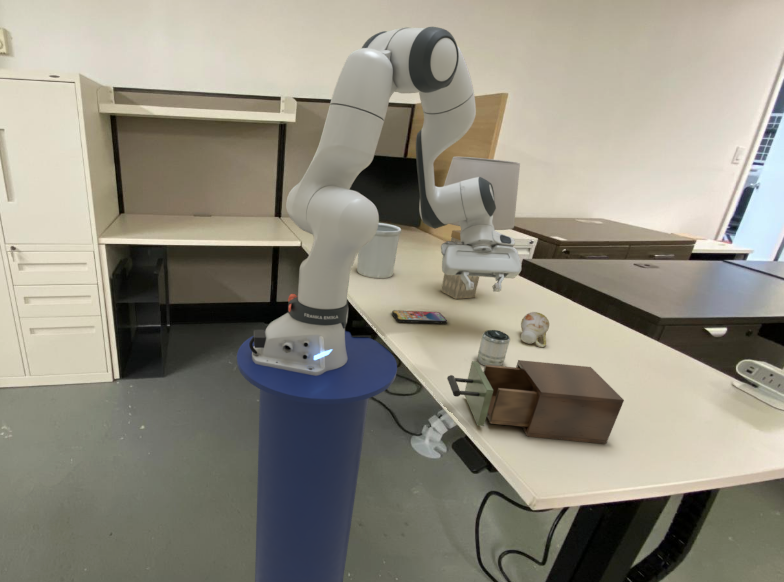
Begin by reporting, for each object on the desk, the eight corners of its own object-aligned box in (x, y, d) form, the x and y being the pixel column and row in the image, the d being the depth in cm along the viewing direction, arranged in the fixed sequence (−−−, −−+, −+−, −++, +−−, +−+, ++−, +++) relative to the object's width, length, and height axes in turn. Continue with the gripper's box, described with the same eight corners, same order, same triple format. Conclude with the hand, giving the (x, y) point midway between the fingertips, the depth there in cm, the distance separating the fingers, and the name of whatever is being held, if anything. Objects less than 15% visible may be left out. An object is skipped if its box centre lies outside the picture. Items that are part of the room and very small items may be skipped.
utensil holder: (387, 281, 168) (394, 233, 161) (349, 273, 174) (354, 226, 166) (399, 272, 180) (406, 226, 173) (363, 265, 186) (368, 220, 178)
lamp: (407, 284, 166) (428, 154, 148) (463, 281, 176) (489, 158, 158) (450, 310, 146) (481, 162, 127) (511, 304, 155) (548, 165, 137)
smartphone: (448, 321, 134) (398, 319, 132) (447, 324, 135) (397, 322, 132) (439, 311, 141) (391, 310, 139) (438, 314, 141) (391, 313, 139)
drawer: (451, 423, 87) (459, 387, 84) (440, 391, 97) (447, 358, 94) (550, 432, 86) (562, 397, 83) (528, 400, 97) (539, 367, 94)
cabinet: (526, 436, 86) (541, 392, 82) (506, 400, 98) (517, 359, 94) (606, 444, 86) (624, 400, 82) (576, 407, 98) (590, 366, 93)
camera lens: (495, 356, 117) (503, 328, 114) (507, 368, 111) (516, 338, 108) (472, 356, 116) (479, 327, 113) (483, 368, 111) (490, 338, 107)
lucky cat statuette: (512, 343, 126) (517, 307, 127) (521, 349, 134) (526, 315, 135) (541, 345, 122) (546, 308, 123) (549, 351, 129) (554, 316, 130)
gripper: (444, 234, 120) (448, 282, 115) (520, 239, 122) (527, 286, 117) (436, 247, 126) (440, 293, 121) (509, 251, 127) (515, 297, 123)
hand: (483, 290), depth 119 cm, fingers open, 6 cm apart
